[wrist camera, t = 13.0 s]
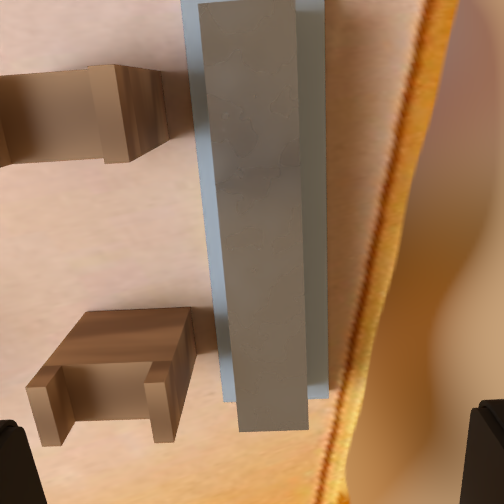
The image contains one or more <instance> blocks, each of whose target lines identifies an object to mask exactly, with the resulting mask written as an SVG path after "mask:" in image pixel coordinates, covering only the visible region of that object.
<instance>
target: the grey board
mask: <svg viewBox="0 0 504 504" xmlns="http://www.w3.org/2000/svg"><path fill="white" fill-rule="evenodd" d="M180 1H181V10H182V19H183V28H184V38H185V47H186V56H187V66H188V75H189V84H190V94H191V103H192V112H193V122H194V131H195V140H196V149H197V159H198V168H199V177H200V187H201V196H202V205H203V215H204V224H205V233H206V243H207V252H208V261H209V270H210V280H211V289H212V298H213V308H214V317H215V326H216V336H217V345H218V354H219V363H220V373H221V382H222V391H223V401H224V402H236V394H235V383H234V373H233V363H232V352H231V342H230V332H229V321H228V311H227V301H226V291H225V280H224V270H223V260H222V249H221V239H220V229H219V218H218V208H217V198H216V187H215V177H214V167H213V156H212V146H211V136H210V125H209V115H208V105H207V94H206V84H205V74H204V63H203V53H202V43H201V32H200V22H199V12H198V4H199V3H211V2H223V1H236V0H180ZM295 5H296V37H297V69H298V102H299V134H300V166H301V198H302V230H303V263H304V295H305V327H306V359H307V391H308V399H327V398H329V379H328V285H327V192H326V99H325V5H324V0H295Z"/></svg>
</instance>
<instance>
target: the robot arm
mask: <svg viewBox="0 0 504 504" xmlns="http://www.w3.org/2000/svg"><path fill="white" fill-rule="evenodd" d="M467 439H468V440H467V448H466V455H465V464H464V472H463V480H462V488H461V496H460V504H504V399H497V400H482V401H481V402H480V404H479V407H478V408H473V409H472V410H471V414H470V422H469V430H468V438H467ZM0 504H47V501H46V498H45V495H44V492H43V488H42V485H41V482H40V479H39V475H38V472H37V469H36V466H35V462H34V459H33V456H32V453H31V449H30V446H29V443H28V440H27V436H26V433H25V431H24V429H23V428H22V427H18V425H17V423H16V422H15V421H14V420H0Z"/></svg>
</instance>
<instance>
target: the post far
mask: <svg viewBox="0 0 504 504" xmlns="http://www.w3.org/2000/svg"><path fill="white" fill-rule="evenodd" d="M196 356H197V355H196V347H195V340H194V332H193V324H192V316H191V308H190V307H180V308H159V309H137V310H116V311H95V312H85V314H84V315H83V316H82V317H81V319H80V320H79V321H78V322H77V324H76V325H75V326H74V327H73V329H72V330H71V331H70V333H69V334H68V335H67V336H66V338H65V339H64V340H63V341H62V343H61V344H60V345H59V346H58V348H57V349H56V350H55V351H54V353H53V354H52V355H51V356H50V358H49V359H48V360H47V361H46V363H45V364H44V365H43V366H42V368H41V369H40V370H39V371H38V373H37V374H36V375H35V376H34V378H33V379H32V380H31V381H30V383H29V384H28V385H27V386H26V392H27V395H28V399H29V402H30V406H31V409H32V413H33V416H34V420H35V423H36V426H37V430H38V433H39V437H40V440H41V444H42V447H46V446H62V444H63V442H64V441H65V439H66V437H67V435H68V434H69V432H70V430H71V428H72V426H73V425H74V423H75V421H101V420H130V419H150V421H151V427H152V432H153V438H154V443H172V442H174V441H175V437H176V433H177V429H178V425H179V421H180V417H181V414H182V410H183V406H184V402H185V398H186V394H187V390H188V387H189V383H190V379H191V375H192V371H193V367H194V363H195V360H196Z"/></svg>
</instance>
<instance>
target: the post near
mask: <svg viewBox="0 0 504 504" xmlns="http://www.w3.org/2000/svg"><path fill="white" fill-rule="evenodd" d="M87 67H88V69H85V70H72V71H59V72H45V73H32V74H18V75H5V76H0V168H1V167H4V166H7V165H10V164H22V163H37V162H53V161H68V160H84V159H99V158H104V162H105V164H112V163H127V162H131V161H133V160H135V159H136V158H138V157H140V156H142V155H144V154H145V153H147V152H149V151H151V150H153V149H154V148H156V147H158V146H160V145H162V144H163V143H165V142H167V141H169V135H168V127H167V119H166V111H165V103H164V95H163V88H162V80H161V72H160V71H157V70H150V69H143V68H136V67H129V66H122V65H115V64H111V65H98V66H87Z"/></svg>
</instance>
